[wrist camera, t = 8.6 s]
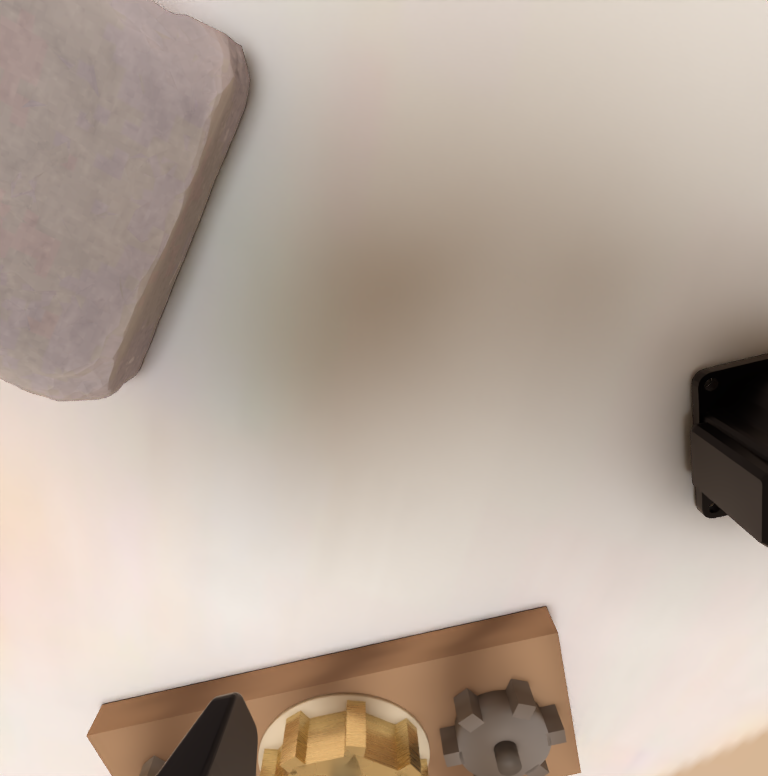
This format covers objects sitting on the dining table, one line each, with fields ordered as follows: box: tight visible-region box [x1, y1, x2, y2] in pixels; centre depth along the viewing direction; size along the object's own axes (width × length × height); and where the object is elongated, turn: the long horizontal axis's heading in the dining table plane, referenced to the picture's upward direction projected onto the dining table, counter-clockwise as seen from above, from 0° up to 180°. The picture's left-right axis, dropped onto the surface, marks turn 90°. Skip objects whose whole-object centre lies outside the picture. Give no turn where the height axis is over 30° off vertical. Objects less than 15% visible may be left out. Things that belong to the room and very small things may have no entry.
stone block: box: [0, 0, 250, 401], centre depth 16 cm, size 12×5×10 cm
